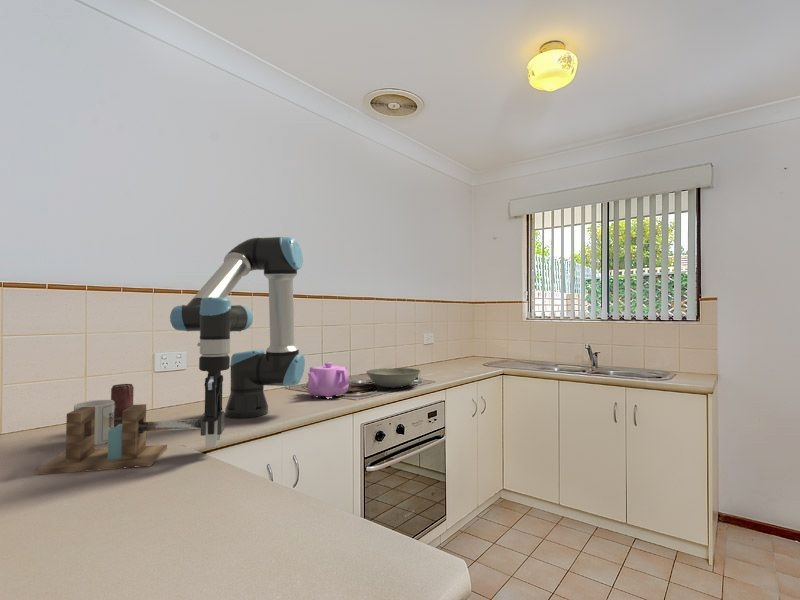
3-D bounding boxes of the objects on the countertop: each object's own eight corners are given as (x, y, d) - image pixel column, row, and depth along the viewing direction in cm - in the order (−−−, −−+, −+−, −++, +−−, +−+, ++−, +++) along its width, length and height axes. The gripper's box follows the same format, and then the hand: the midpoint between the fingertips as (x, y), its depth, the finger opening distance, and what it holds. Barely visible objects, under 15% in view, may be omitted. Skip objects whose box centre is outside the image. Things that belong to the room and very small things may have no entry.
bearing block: (167, 449, 122) (167, 401, 122) (151, 466, 108) (152, 412, 109) (66, 455, 116) (67, 405, 116) (36, 474, 102) (37, 417, 103)
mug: (123, 438, 132) (124, 401, 132) (83, 450, 121) (84, 409, 121) (98, 435, 135) (98, 398, 136) (56, 446, 124) (57, 406, 124)
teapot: (307, 401, 188) (308, 365, 188) (305, 393, 206) (305, 360, 206) (352, 399, 193) (353, 364, 193) (346, 391, 211) (347, 359, 211)
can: (122, 431, 140) (123, 386, 140) (105, 430, 141) (106, 385, 141) (137, 426, 146) (138, 383, 146) (121, 425, 147) (122, 383, 147)
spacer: (131, 450, 117) (131, 423, 117) (121, 458, 110) (121, 430, 110) (118, 451, 116) (119, 424, 116) (107, 459, 109) (108, 431, 109)
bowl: (426, 383, 235) (426, 368, 235) (412, 393, 208) (412, 375, 208) (377, 381, 242) (377, 366, 243) (358, 390, 216) (358, 372, 216)
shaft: (224, 429, 121) (224, 411, 121) (221, 434, 116) (221, 415, 116) (138, 434, 116) (138, 415, 116) (131, 439, 111) (132, 419, 111)
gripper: (206, 352, 127) (204, 434, 126) (192, 358, 109) (190, 454, 108) (233, 351, 128) (232, 433, 128) (224, 358, 111) (223, 452, 110)
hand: (213, 442), depth 118 cm, fingers closed on shaft, 5 cm apart
